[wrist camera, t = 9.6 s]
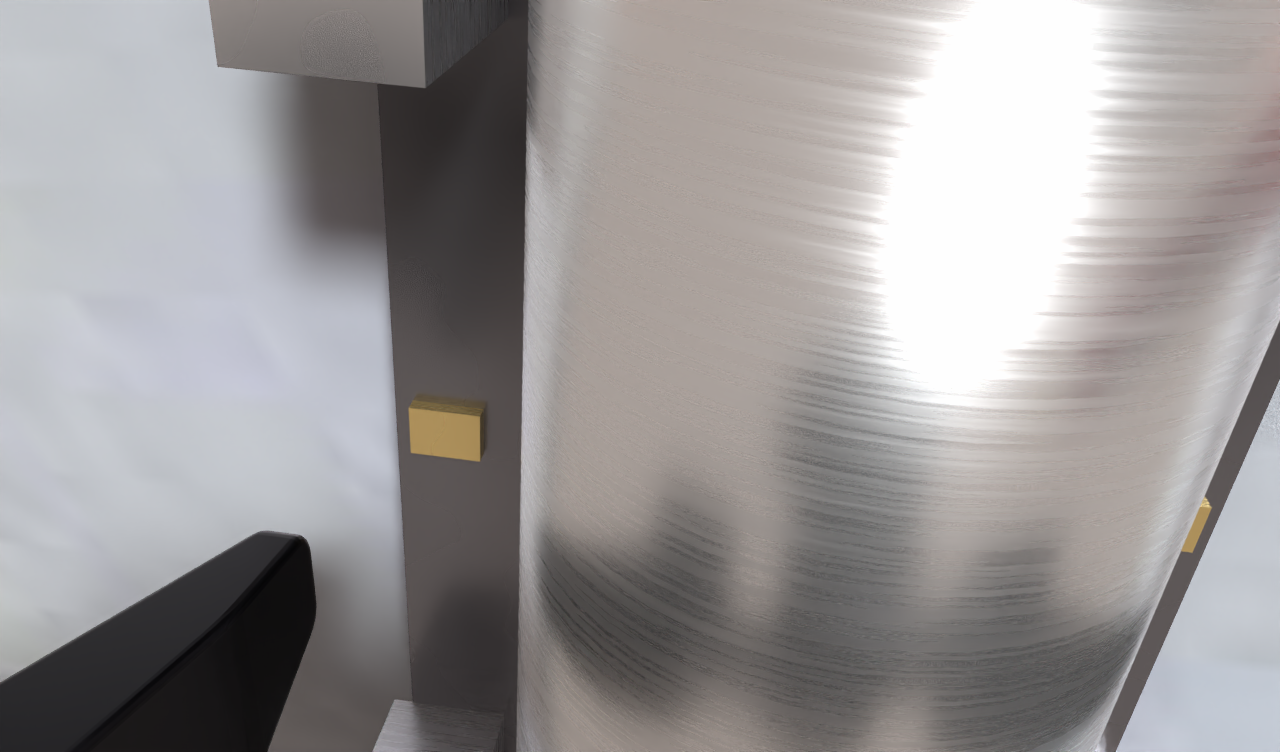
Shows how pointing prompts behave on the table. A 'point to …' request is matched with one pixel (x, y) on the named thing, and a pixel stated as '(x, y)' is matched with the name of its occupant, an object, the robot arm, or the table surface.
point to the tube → (877, 359)
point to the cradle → (498, 337)
